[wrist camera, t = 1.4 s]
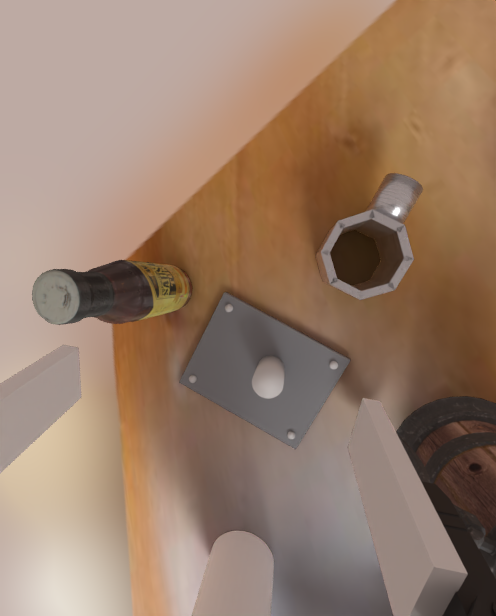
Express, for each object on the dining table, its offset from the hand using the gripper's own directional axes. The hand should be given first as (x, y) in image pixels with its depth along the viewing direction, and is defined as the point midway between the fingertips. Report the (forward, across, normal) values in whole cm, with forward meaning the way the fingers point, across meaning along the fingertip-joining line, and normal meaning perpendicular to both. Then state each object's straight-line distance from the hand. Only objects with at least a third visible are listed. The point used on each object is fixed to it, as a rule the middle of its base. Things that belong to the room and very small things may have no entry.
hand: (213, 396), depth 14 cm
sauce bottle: (+27, +12, +4) cm, 30 cm away
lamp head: (+27, -12, -6) cm, 30 cm away
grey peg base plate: (+24, -2, +12) cm, 27 cm away
